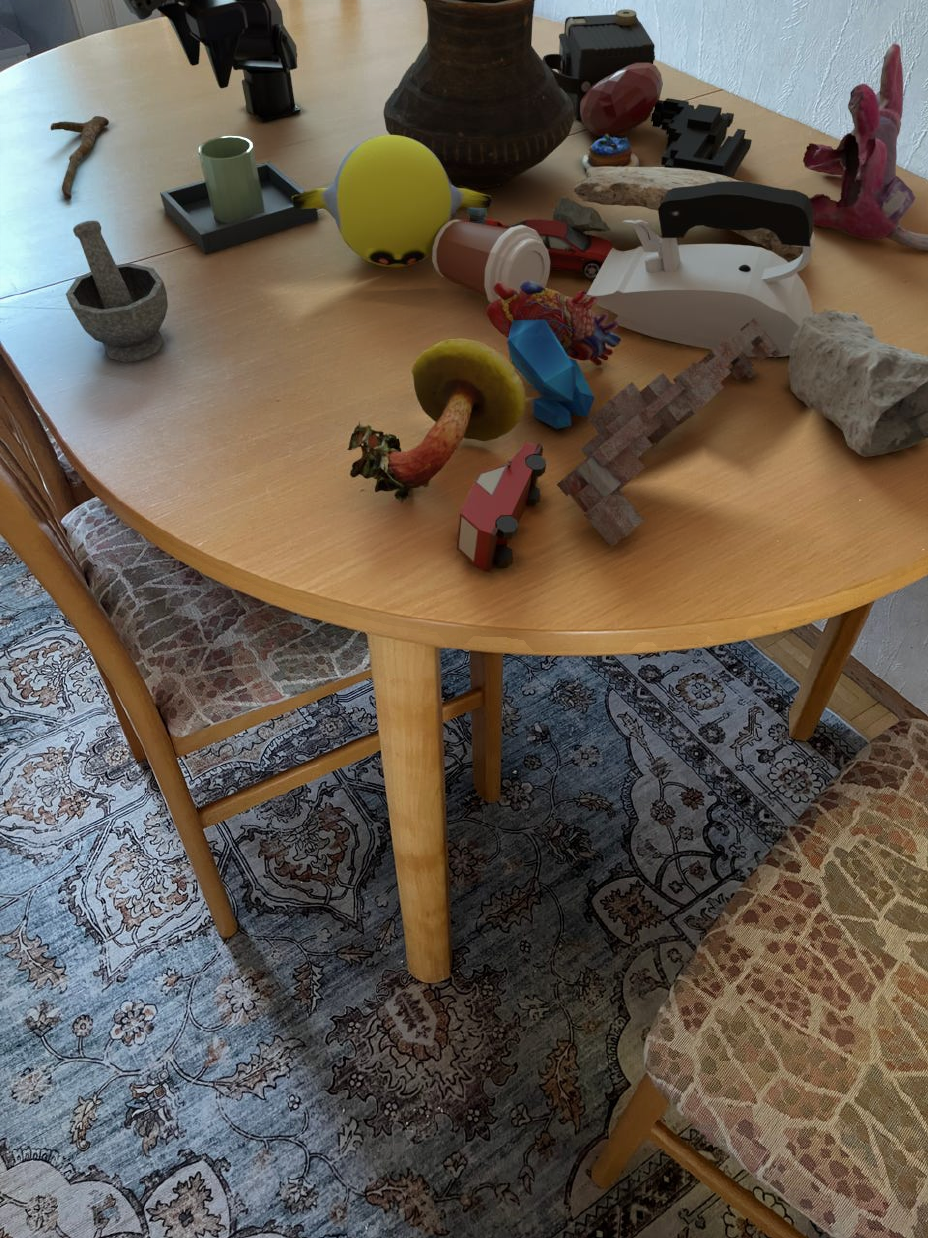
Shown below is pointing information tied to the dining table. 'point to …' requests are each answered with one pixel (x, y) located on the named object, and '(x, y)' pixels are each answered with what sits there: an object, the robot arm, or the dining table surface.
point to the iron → (712, 268)
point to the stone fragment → (652, 187)
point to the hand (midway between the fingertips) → (209, 75)
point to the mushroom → (444, 414)
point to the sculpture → (650, 429)
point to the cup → (231, 178)
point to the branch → (88, 136)
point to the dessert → (610, 154)
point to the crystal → (549, 373)
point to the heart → (621, 100)
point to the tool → (699, 137)
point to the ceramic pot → (481, 93)
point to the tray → (212, 235)
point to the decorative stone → (860, 382)
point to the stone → (578, 216)
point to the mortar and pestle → (117, 300)
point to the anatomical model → (556, 319)
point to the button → (479, 216)
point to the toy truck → (499, 508)
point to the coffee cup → (490, 256)
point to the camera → (597, 51)
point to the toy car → (569, 246)
